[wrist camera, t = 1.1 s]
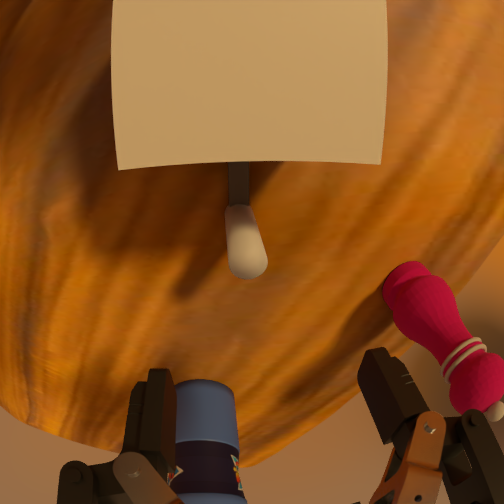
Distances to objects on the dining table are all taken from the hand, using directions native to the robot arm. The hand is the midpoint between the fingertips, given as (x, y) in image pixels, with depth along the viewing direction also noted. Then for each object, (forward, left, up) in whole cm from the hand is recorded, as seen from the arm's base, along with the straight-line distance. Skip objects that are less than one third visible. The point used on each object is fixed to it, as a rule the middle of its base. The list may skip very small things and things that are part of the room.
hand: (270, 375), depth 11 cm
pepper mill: (+9, +19, -17) cm, 27 cm away
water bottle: (+26, -6, -17) cm, 32 cm away
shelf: (-13, 0, -17) cm, 21 cm away
